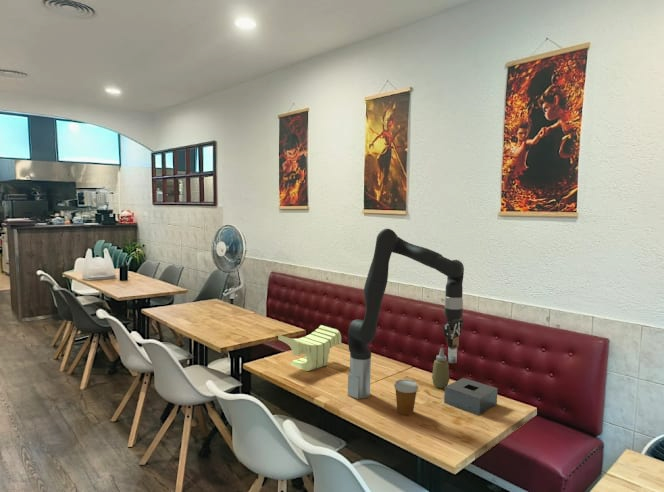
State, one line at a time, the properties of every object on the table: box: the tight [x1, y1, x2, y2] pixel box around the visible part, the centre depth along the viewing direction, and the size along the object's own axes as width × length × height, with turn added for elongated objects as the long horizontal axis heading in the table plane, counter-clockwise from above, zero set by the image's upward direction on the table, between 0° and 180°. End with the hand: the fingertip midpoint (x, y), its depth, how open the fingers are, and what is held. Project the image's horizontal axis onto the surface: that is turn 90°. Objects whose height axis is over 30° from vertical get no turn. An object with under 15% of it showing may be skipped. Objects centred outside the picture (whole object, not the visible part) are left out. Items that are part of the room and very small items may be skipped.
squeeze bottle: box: [431, 348, 450, 389], centre depth 204 cm, size 8×8×18 cm
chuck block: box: [443, 377, 499, 416], centre depth 186 cm, size 16×16×7 cm
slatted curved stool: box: [277, 324, 342, 372], centre depth 228 cm, size 30×16×18 cm, turn 135°
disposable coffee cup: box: [393, 378, 419, 416], centre depth 176 cm, size 10×10×12 cm
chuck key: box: [447, 334, 460, 364], centre depth 188 cm, size 5×5×11 cm
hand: (452, 345), depth 188 cm, fingers closed on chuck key, 4 cm apart
